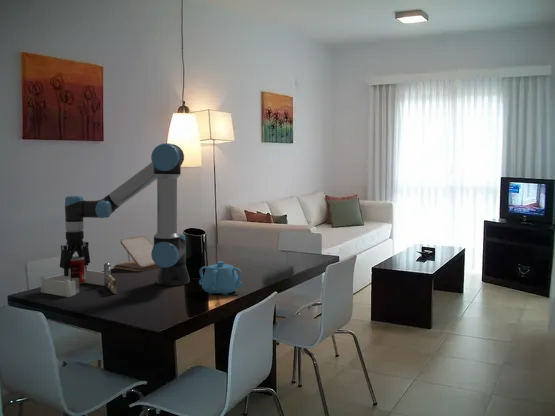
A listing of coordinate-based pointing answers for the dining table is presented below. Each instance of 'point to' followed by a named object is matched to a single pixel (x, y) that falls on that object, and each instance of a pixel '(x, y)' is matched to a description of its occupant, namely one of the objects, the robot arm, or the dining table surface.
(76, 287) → the latch stile
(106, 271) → the hinge post
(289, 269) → the dining table surface
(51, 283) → the pen fence
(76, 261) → the canned food
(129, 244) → the case
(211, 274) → the decorative pot
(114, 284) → the gate
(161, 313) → the dining table surface
